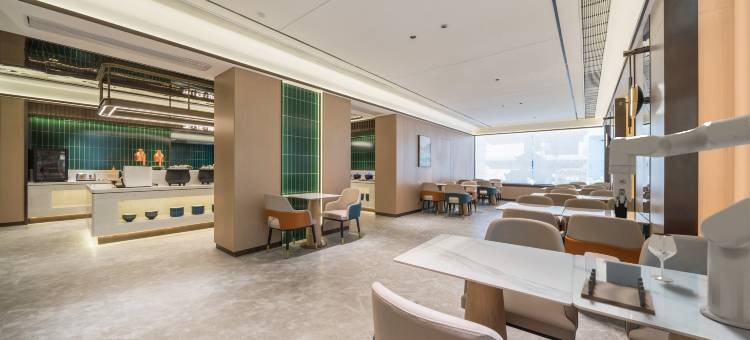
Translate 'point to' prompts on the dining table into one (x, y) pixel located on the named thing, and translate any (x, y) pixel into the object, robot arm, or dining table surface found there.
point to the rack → (618, 294)
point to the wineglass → (662, 250)
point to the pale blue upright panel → (623, 273)
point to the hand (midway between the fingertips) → (620, 216)
